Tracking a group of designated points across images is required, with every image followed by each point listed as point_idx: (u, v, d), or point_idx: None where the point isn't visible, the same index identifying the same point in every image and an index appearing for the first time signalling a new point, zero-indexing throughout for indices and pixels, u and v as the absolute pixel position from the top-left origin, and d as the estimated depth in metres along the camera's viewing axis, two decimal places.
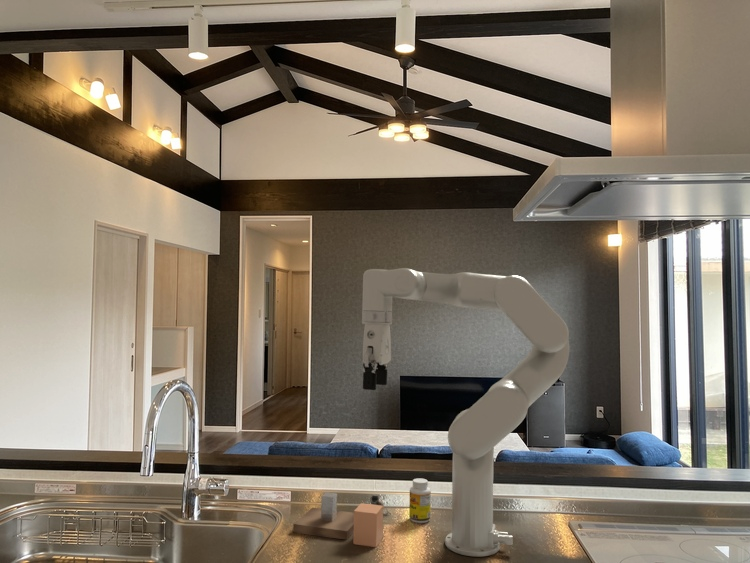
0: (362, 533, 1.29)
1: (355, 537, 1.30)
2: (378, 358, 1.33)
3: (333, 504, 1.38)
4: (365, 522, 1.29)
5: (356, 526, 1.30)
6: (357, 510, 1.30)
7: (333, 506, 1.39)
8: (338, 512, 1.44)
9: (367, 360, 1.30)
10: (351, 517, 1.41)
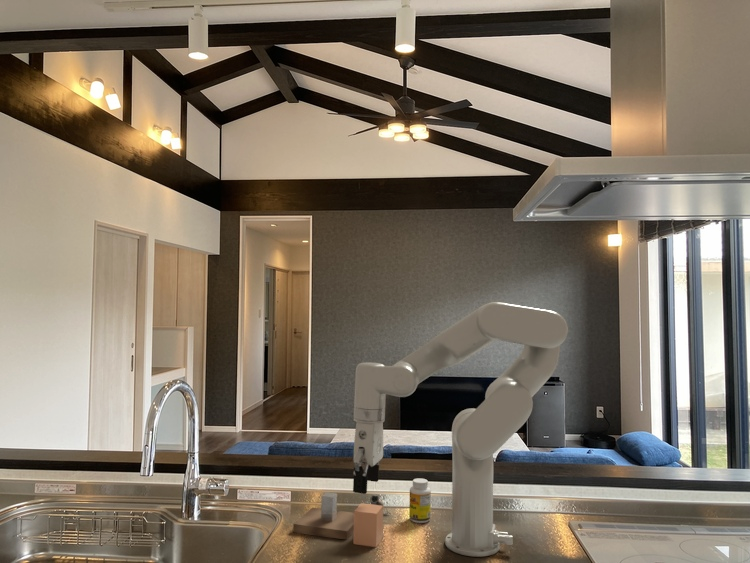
0: (362, 533, 1.29)
1: (355, 537, 1.30)
2: (369, 460, 1.27)
3: (333, 504, 1.38)
4: (365, 522, 1.29)
5: (356, 526, 1.30)
6: (357, 510, 1.30)
7: (333, 506, 1.39)
8: (338, 512, 1.44)
9: (358, 464, 1.25)
10: (351, 517, 1.41)
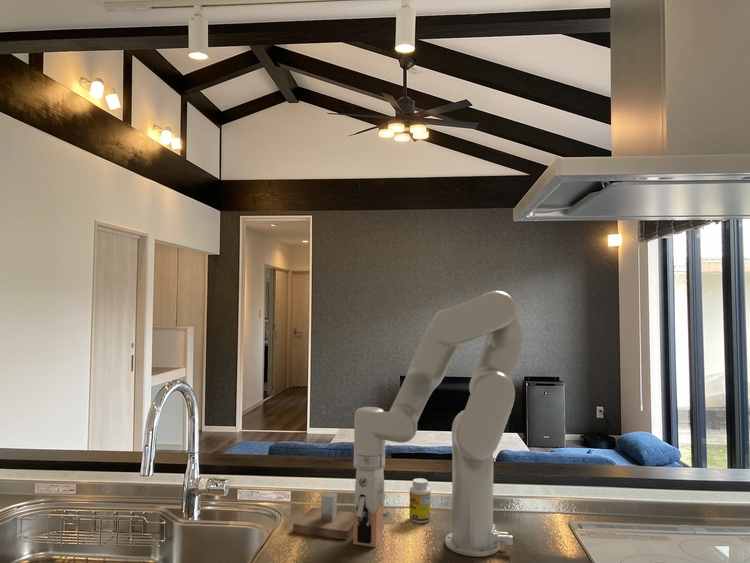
0: None
1: (355, 537, 1.30)
2: (371, 508, 1.27)
3: (333, 504, 1.38)
4: None
5: (356, 526, 1.30)
6: None
7: (333, 506, 1.39)
8: (338, 512, 1.44)
9: (361, 518, 1.25)
10: (351, 517, 1.41)
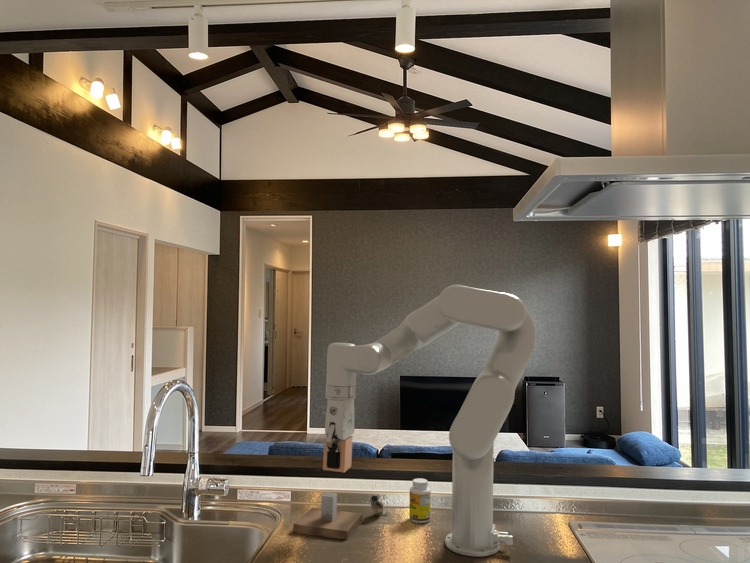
0: None
1: (325, 463, 1.36)
2: (340, 435, 1.34)
3: (333, 504, 1.38)
4: None
5: (326, 453, 1.36)
6: None
7: (333, 506, 1.39)
8: (338, 512, 1.44)
9: (330, 443, 1.32)
10: (351, 517, 1.41)
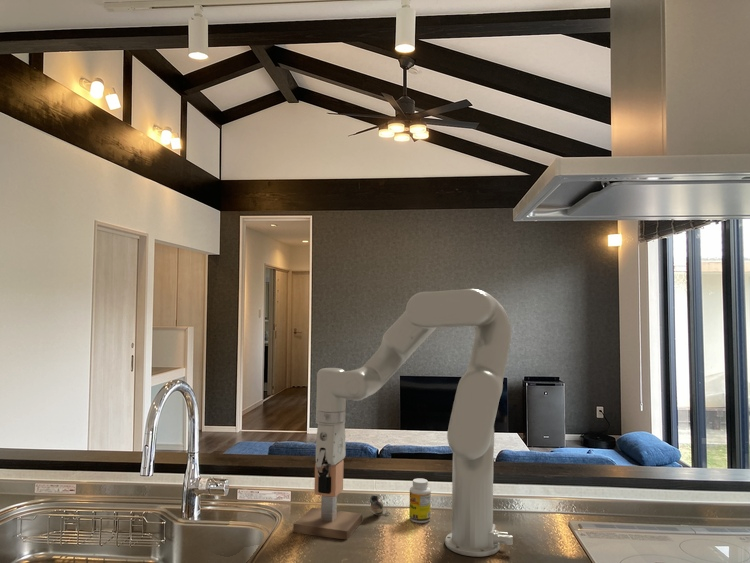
0: None
1: (316, 488, 1.38)
2: (330, 460, 1.35)
3: (333, 504, 1.38)
4: None
5: (317, 478, 1.38)
6: None
7: (333, 506, 1.39)
8: (338, 512, 1.44)
9: (320, 469, 1.34)
10: (351, 517, 1.41)
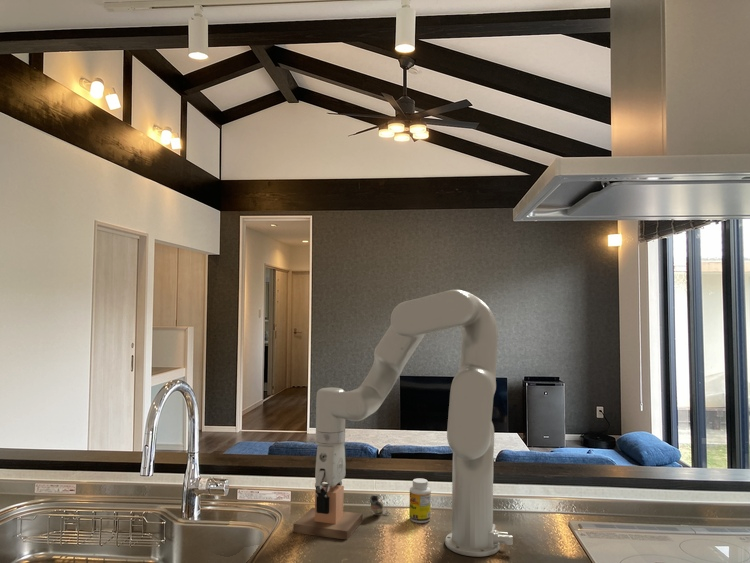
0: None
1: (316, 515, 1.38)
2: (330, 481, 1.35)
3: None
4: None
5: None
6: None
7: None
8: None
9: (319, 488, 1.33)
10: (351, 517, 1.41)
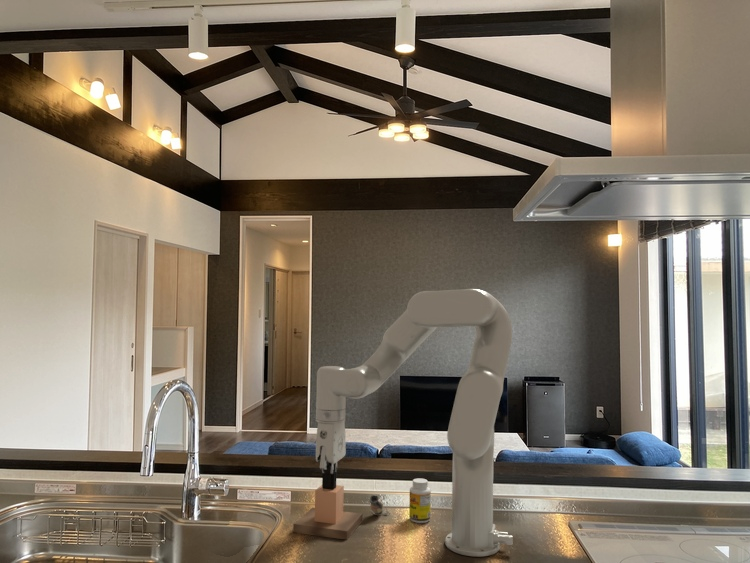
0: (323, 511, 1.37)
1: (316, 515, 1.38)
2: (330, 458, 1.35)
3: None
4: (326, 501, 1.37)
5: (317, 504, 1.38)
6: (318, 489, 1.39)
7: None
8: None
9: None
10: (351, 517, 1.41)
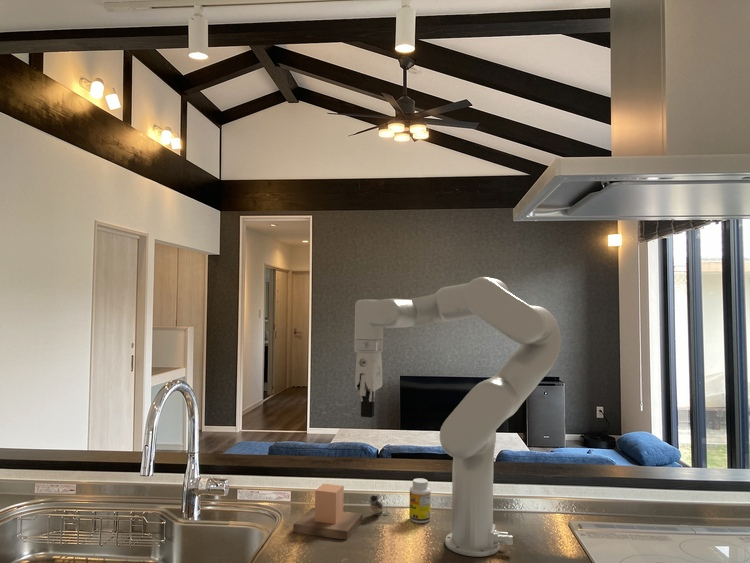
0: (323, 511, 1.37)
1: (316, 515, 1.38)
2: (370, 385, 1.40)
3: None
4: (326, 501, 1.37)
5: (317, 504, 1.38)
6: (318, 489, 1.39)
7: None
8: None
9: (364, 396, 1.41)
10: (351, 517, 1.41)
